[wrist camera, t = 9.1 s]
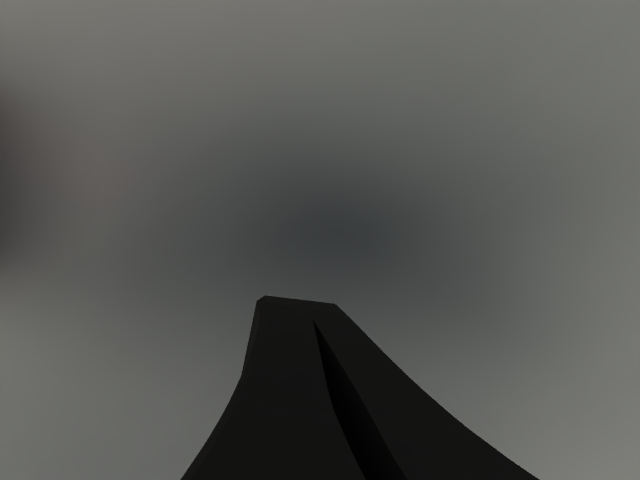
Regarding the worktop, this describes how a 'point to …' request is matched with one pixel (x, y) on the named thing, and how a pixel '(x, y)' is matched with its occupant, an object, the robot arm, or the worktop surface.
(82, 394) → the worktop surface
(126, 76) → the worktop surface
